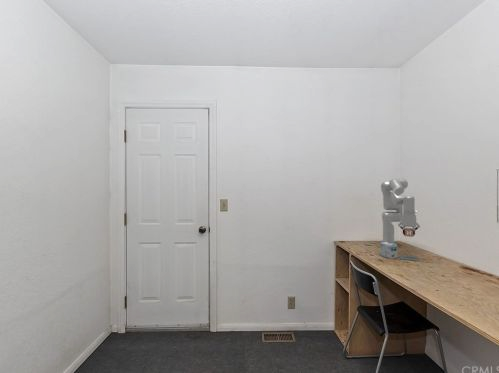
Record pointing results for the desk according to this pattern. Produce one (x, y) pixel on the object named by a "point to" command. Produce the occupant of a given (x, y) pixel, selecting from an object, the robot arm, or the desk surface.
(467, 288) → the desk surface
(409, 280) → the desk surface
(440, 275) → the desk surface
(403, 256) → the blue-gray flat panel
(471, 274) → the desk surface
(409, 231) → the reddish brown cube
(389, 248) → the light bulb box
